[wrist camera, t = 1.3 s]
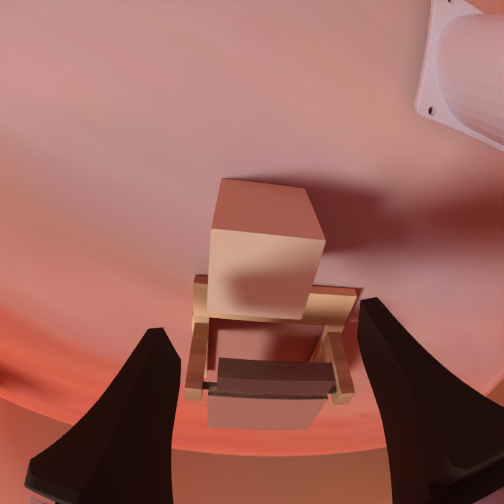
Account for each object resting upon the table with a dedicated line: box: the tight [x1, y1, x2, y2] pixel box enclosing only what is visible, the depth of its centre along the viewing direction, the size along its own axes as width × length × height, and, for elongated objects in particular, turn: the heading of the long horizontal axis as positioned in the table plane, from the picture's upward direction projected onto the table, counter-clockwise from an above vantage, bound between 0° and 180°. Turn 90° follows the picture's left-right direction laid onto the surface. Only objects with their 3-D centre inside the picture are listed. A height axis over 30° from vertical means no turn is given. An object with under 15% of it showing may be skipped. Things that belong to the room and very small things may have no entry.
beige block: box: [207, 178, 326, 320], centre depth 16 cm, size 5×5×6 cm
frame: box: [185, 275, 357, 405], centre depth 21 cm, size 11×11×6 cm
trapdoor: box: [207, 358, 336, 430], centre depth 20 cm, size 8×8×1 cm
